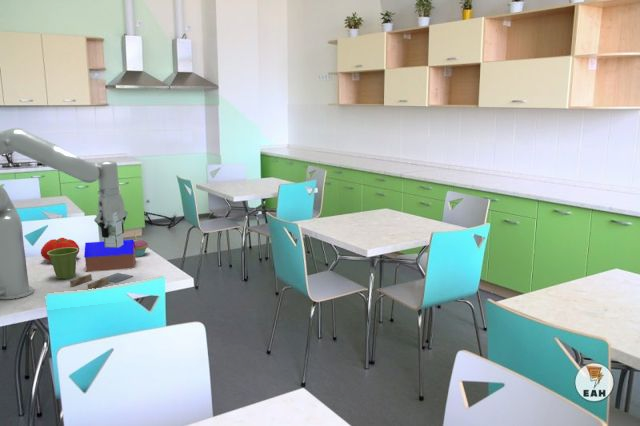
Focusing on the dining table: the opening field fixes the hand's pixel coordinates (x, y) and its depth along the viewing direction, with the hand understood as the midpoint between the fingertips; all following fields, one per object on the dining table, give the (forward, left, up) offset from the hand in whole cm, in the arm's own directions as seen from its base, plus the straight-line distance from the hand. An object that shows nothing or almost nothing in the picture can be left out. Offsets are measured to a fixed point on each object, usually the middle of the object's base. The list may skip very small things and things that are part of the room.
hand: (113, 234), depth 223 cm
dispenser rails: (-11, +3, -18) cm, 22 cm away
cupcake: (+30, +18, -19) cm, 40 cm away
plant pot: (-8, +21, -19) cm, 29 cm away
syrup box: (0, 0, -5) cm, 5 cm away
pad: (0, 0, -18) cm, 18 cm away
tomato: (+8, +44, -19) cm, 49 cm away
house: (+12, +16, -19) cm, 27 cm away
